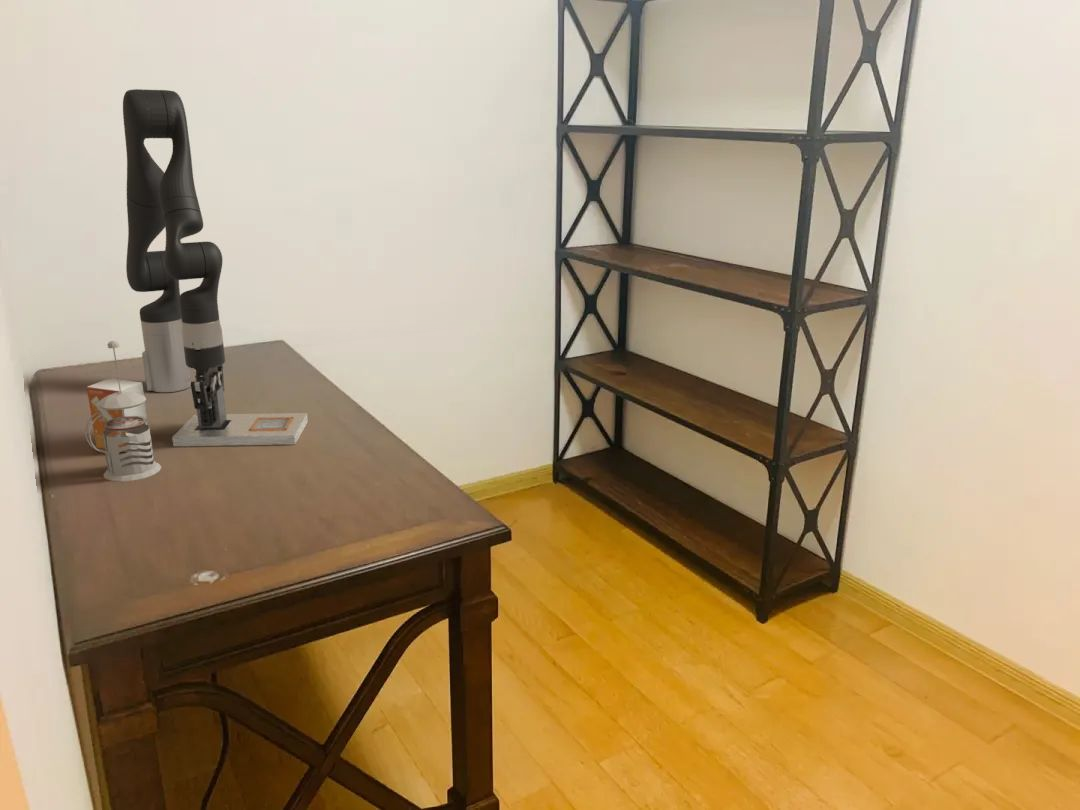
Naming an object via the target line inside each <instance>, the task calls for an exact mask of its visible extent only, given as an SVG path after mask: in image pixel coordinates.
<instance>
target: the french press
mask: <svg viewBox="0 0 1080 810" xmlns="http://www.w3.org/2000/svg"><path fill="white" fill-rule="evenodd" d="M107 348H108V349H112V350H113V356H114V364H115V369H116V376H117V380H118V383H119V390H120V392H118V393H113V394H111V395H108V396H106V397H104V398H103V399H101V400H100V401H99V402H98V403H97V405H98V406H99V408H101V409H104V410H122V409H123V417H117V418H114V419H111V420H109V421H106V422H105V424H104V427H105V428H106V430H104V432H103V437H104V443H105V449H102V448H96V445H95V444H94V443H93V441H92V436H91V433H92V432H91V431H92V428H93V423H94V422H95V420H96V419H97V418H99V417H100V420H101V421H104V416H103V415H100V413H95V414H94V415H93V416H91V415H90V416H91V417H90V418H89V419H88V420H87V422H86V424H85V427H84V428H85V429H84V433H85V439H86V440H87V442H88V443H87V444H89V446H90V447H91V448H93V449H94V450H95V451H98V452H100V453H103V454H104V455H105V461H106V467H107V469H106V471H105V472H104V473H103V477H104V479H106V480H108V481H110V482H133V481H138V480H144V479H146V478H149V477H151V476H154V475H156V474H157V473H159V472H160V471H161V469H162V466H161V464H160V463H159V462H156V460H155V458H154V452H153V443H152V436H151V429H150V426H149V424H148V425H146V424H145V423H146V421H147V420H148V419H147V420H146V418H144V417H141V416H127V417H126V416H125V415H124V409H128V408H133V407H136V406H139V405H142V404H144V403H145V404H146V401H147V397H146V396H145V395H144V396H143V395H140V394H138V393H134V392H121V389H120V382H119V380H120V376H119V370H118V364H117V357H116V356H117V355H116V351H115V349H117V348H120V343H119V341H117V340H110V341H109V342H108V343H107ZM96 414H99V416H98V417H96V418H95V419H94V420H93V422H92V417H94V416H95V415H96ZM101 416H102V418H103V420H102V419H101ZM90 421H91V424H90V427H89V423H90ZM88 427H89V430H88ZM114 431H122V432H126V433H131V434H138V435H134V436H125V435H121V434H117V435H113V436H111V437H108V435H109V434H111V433H112V432H114ZM129 442H143V443H140V444H136V443H129ZM120 444H124V445H128V446H125V447H118V445H120ZM107 446H108V447H107ZM134 448H138V449H134ZM121 451H128V453H126V452H122V453H121Z"/></svg>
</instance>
